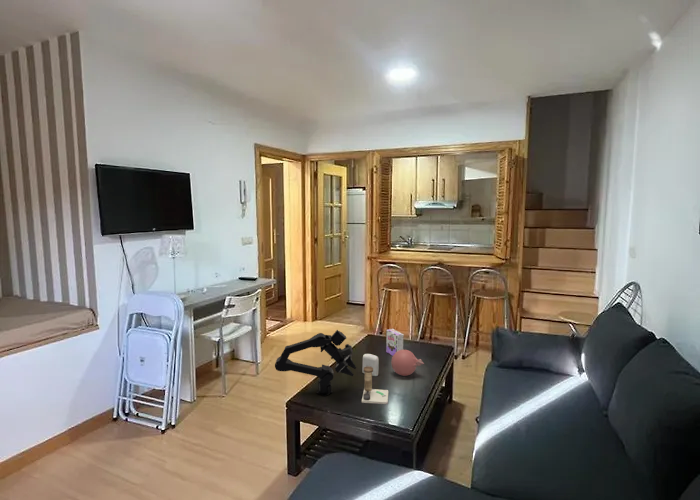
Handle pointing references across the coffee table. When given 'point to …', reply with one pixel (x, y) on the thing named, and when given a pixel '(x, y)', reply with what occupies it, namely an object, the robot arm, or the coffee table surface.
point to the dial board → (376, 396)
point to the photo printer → (371, 363)
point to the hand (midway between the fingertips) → (354, 371)
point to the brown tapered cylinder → (368, 381)
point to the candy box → (393, 341)
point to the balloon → (405, 362)
